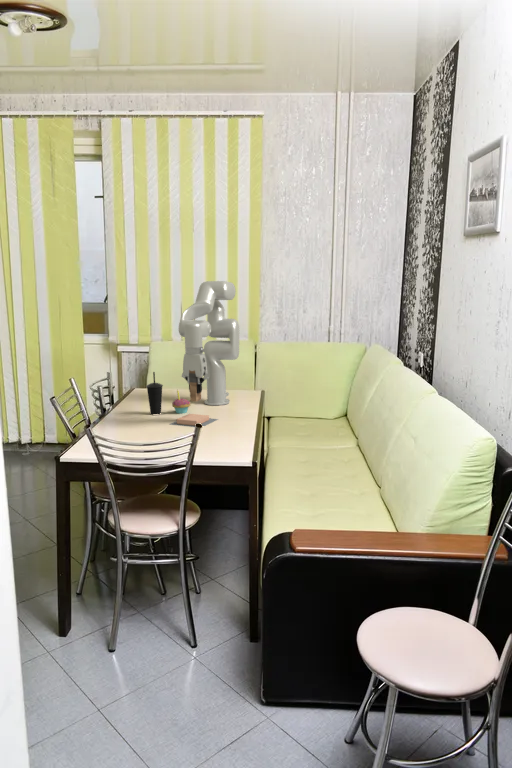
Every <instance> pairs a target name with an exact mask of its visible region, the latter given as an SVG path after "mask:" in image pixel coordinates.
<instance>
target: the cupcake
mask: <svg viewBox="0 0 512 768" xmlns="http://www.w3.org/2000/svg"><path fill="white" fill-rule="evenodd" d="M179 391H180V390H178V389H177V390H176V393H177V398H176V399H175V400H173V401H172V404H171V406H172V407H173V409H174V410H175V412H176V414H188V409H189V408H190V407H191V401H190V400H189V399H186V398H180V397H181V396H180V392H179Z"/></svg>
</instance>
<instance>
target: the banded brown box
mask: <svg viewBox="0 0 512 768" xmlns="http://www.w3.org/2000/svg"><path fill="white" fill-rule="evenodd" d="M189 382H190V390H189V399H190V400H189V402H199V401H201V400H202V392H200V393H197V384H198V383H197V377H196V374H195V370H194V371H190V370H189Z"/></svg>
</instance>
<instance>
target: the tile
mask: <svg viewBox="0 0 512 768" xmlns="http://www.w3.org/2000/svg"><path fill="white" fill-rule="evenodd" d="M209 418H210V415H206V414H197V413H187V414H185V415H183V416H181V417H179V418H176V421H177V424H183V425H193V426H195V424H197V423H201V424H202V423H204V422H206V421H208V420H209Z"/></svg>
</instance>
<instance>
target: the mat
mask: <svg viewBox="0 0 512 768" xmlns="http://www.w3.org/2000/svg"><path fill="white" fill-rule="evenodd" d="M216 421H219V418H210V417H209V420H208V421H206V422H204V423H202V426H204V427H206V426H209V425H210V424H212V423H214V422H216ZM168 425H171V426H178V427H179V426H180V427H190V428H196V427H195V426H193V425H183V424H177V420H176V421H173V422H171V423H169V424H168Z"/></svg>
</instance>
